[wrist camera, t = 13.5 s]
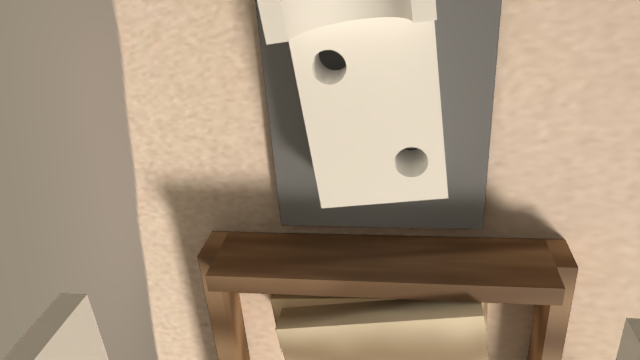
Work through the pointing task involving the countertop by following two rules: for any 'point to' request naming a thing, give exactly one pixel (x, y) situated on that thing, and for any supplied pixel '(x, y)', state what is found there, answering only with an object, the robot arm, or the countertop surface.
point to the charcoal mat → (459, 143)
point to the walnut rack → (389, 276)
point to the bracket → (367, 96)
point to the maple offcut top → (384, 331)
